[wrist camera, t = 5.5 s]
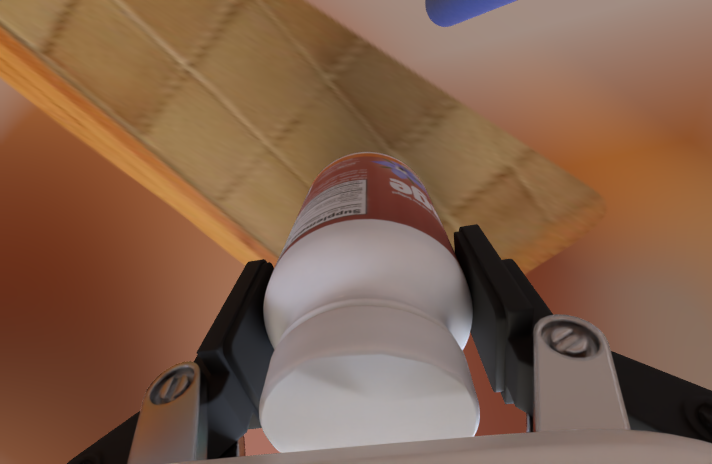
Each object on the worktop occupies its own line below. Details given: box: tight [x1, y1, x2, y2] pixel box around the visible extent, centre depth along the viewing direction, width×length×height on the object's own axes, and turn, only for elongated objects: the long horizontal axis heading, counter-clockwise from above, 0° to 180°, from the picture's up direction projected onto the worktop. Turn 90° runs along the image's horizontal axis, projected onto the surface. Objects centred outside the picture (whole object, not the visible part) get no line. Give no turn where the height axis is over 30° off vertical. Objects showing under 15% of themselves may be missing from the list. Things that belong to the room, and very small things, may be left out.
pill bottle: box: [259, 152, 480, 453], centre depth 11 cm, size 6×6×11 cm
